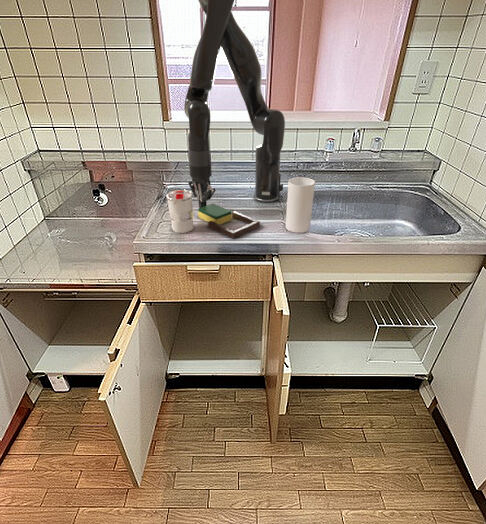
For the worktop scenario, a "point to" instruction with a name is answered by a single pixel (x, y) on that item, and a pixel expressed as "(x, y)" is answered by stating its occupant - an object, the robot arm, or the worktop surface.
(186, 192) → the white canister
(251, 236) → the worktop surface
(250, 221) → the sponge rack
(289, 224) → the cup
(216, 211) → the sponge
